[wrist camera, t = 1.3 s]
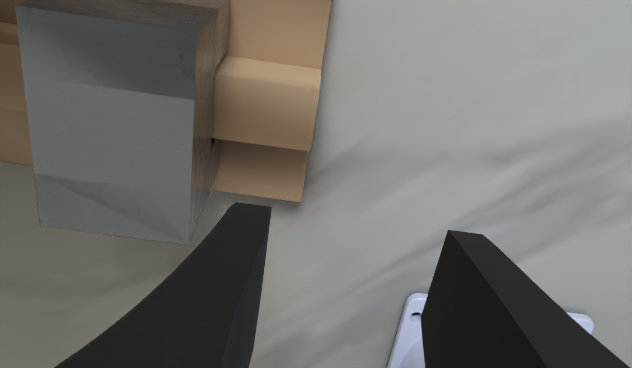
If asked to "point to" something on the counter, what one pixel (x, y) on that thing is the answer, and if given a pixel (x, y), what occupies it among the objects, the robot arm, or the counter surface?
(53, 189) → the keeper
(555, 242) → the counter surface
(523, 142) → the counter surface
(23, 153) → the rail board
